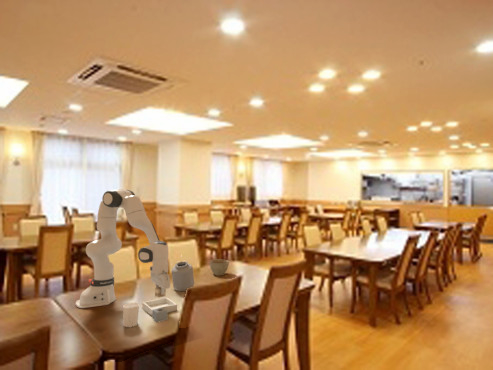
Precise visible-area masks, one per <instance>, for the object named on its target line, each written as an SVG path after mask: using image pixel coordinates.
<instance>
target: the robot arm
mask: <svg viewBox="0 0 493 370" xmlns="http://www.w3.org/2000/svg"><path fill="white" fill-rule="evenodd" d="M120 208H123V210H124V212H125V215H126V218H127V222H128V224H129V225H130V226H131V227H132V228H135V229H138V230H140V231H142V232H144V234H145V235H146V238H147V239H148V243H149V245H146V246H143V247H141V248H140V249H139V250H138V252H137V258H138V260H139V261H140V262H141V263H143V264H149V263H152V265H150V267H149V271H150V280H151V282H152V283H153V284H154V285H155V288H157V287H161V291H160V294H164V291H165V289H166V290H167V289H169V288H171V278H170V277H171V276H170V274H168V272H169V261H168V258H169V247H168V243H167V242H165V241H163V240H160V238H159V235H158V233H157V231H156V229H155V227H154V225H153V222H152V221H151V220H150V219H149V217H148V215H147V212H146V209H145V207H144V205H143V202H142V200H141V198H140V197H139V196H138V195H136V194H135V192H134V191H132V190H129V189H110V190H107V191H105V192H104V193H103V195H102V199H101V201H100V203H99V207H98V210H97V211H98V212H97V219H96V230H97V231H98V232H99V233H100V237H101V238H100V239H95V240H93V241H91V242H89V243H88V244H87V245H86V246H85V254H86V255H87V257H88V258H89V259H91V261H92V263H93V271H94V273H93V274H94V277H93V278H89V279H88V282H89V283H90V285H89V286H87V288H86V289H84V290H82V292H81V293H80V297H79V299H78V300H76V301H75V306H76V307H77V308H78V309H86V308H87V309H88V308H93V307H94V308H95V307H101V306H108V305H110V304H111V303H113V302H115V301H116V299H117V298H116V295H115V288H114V287H115V277H114V271H115V269H114V264H113V262H111V261H110V258H109V256H110V255H114V254H117V252H119V251H120V250H121V249H122V247H123V245H122V244H123V243H122V240H121V239H120V238H119V237H118V233H117V217H118V210H119V209H120Z"/></svg>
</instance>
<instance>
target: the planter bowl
mask: <svg viewBox="0 0 493 370" xmlns="http://www.w3.org/2000/svg"><path fill="white" fill-rule="evenodd" d="M229 263H230V260H228V259H223V258H221V259H219V258H218V259H211V260H210V261H209V267H210V269H211V271H212V274H213V276H214V275H215V276H224V275H225V273H226V272H227V270H228V267H229Z"/></svg>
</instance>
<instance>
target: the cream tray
mask: <svg viewBox="0 0 493 370" xmlns="http://www.w3.org/2000/svg"><path fill="white" fill-rule="evenodd" d="M162 307H164V308H165V309H166V310H167V314H168V313H171V312H175V311H176V312H177V311H178V304H177V303H176V302H174V301H173V300H171V298H168V297H166V296H165V297H162V298H161V297H160V298H156V299H151V300H148V301H143V302H142V309H143V310H144V311H145V312H146V313H147V314H148V315H149V316H151V317H153V309H157V308H162Z"/></svg>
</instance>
